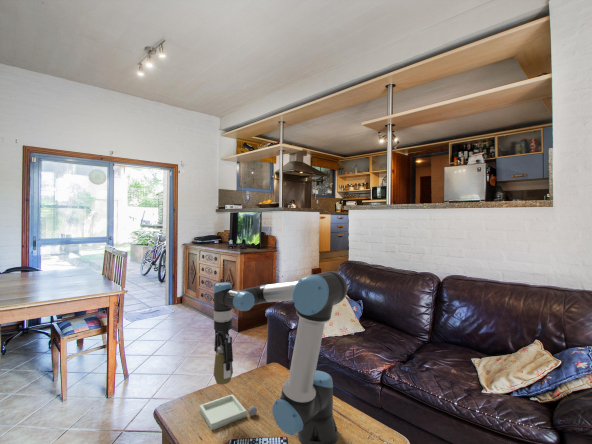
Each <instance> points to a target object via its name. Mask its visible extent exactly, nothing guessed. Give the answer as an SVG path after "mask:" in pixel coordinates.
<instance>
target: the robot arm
mask: <svg viewBox="0 0 592 444" xmlns="http://www.w3.org/2000/svg"><path fill="white" fill-rule="evenodd" d="M348 289H349V288H348V283H347V281H346V279H345V277H344V276H343V275H342V274H341V273H340V272H337V271H333V270H331V271H330V270H329V271H325V272H320V273H316V274H315V273H314V274H309V275H307V276H304V277H302V278H300V279H298V280H292V281H283V282H276V283H271V284H269V283H267V284H265V283H264V284H261V285H257V286H254V287H253V286H252V287H248V288H244V289H233V285H232V283H231V282H218V283H215V284H214V285H213V320H214V321H213V330H214V352H215V354H216V353H217V352H218V347H219V346H220V345H221V346H222V347H223V353H224V360H225V362H223V364H224V379H226V378H230V377H231V362H232V363H233V362H234V356H233V355H234V354H233V336H230V333H229V331H230V330H232V328H233V320H232V318H233V312H234V310H238V311H241V312H248V311H250V310H251V309H252V308H253V307H254V306H256V305H261V304H265V303H274V302H287V301H292V302H293V303H294V305H293V306H294V308H295V312H296V314H297V316H298V317H299V318H298V319H299V320H298V324H297V330H296V335H295V341H294V346H293V351H292V358H291V363H290V367H289V369H290V370H289V374H288V375H289V376H288V379H286V380H285V381H284V382H283V384H282V388H281V393H280V397H279V398H277V399H276V400H275V401H274V402H273V404H272V408H271V409H272V411H271V412H272V417H273V419H274V421H275V423H276V425H277V426H278V428H279V429H280V430H281V431H282V432H283V433H285V434H286V435H288V436H295V435H297V438H298V440H299V442H300V443H301V444H335V443H336V442H337V441H338V427H337V424H336V421H335V417H334V411H333V410H334V409H333V408H334V407H333V406H334V405H333V403H334V392H333V391H334V384H333V378H332V376H331V375H330V374H329V373H327V372H325V371H322V370H317V365H318V360H319V355H320V350H321V346H322V345H321V344H322V339H323V335H324V330H325V324H326V323H327V322H329V321H330V320H331V318H332V312H333V309H334V306H335V305H338V304H340V303H341V302H342V301H343V300H344V299H345V298H346V296H347V294H348ZM231 378H232V377H231Z"/></svg>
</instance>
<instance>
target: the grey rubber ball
mask: <svg viewBox="0 0 592 444" xmlns="http://www.w3.org/2000/svg"><path fill="white" fill-rule="evenodd" d="M257 412H258V411H257V407H256V406H254V405H250V406H249V407H248V410H247V414H248V415H249V416H250V417H253V416H256V414H257Z"/></svg>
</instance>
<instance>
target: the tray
mask: <svg viewBox="0 0 592 444" xmlns="http://www.w3.org/2000/svg"><path fill="white" fill-rule="evenodd" d="M199 413H200V414H201V415H202V418H203V419H204V421H205V423H206V424H207V425H208V428H209V429H210V431H211V432H212V431H213V430H216V429H219V428H221V427H224V426H226V425H228V424H229V425H230V424H232V423H234V422H236V421H239V420H242V419H245V418H247V414H248V410H247V409H246V408H245V407H244V406H243V405H242V403H241V402H240V401H239V400H238V398H237V397H236V396H235V395H234V394H230V395H229V394H228V395H226V396H223V397H220V398H217V399H214V400H211V401H209V402H205V403H202V404H199Z"/></svg>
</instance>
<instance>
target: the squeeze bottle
mask: <svg viewBox="0 0 592 444" xmlns="http://www.w3.org/2000/svg"><path fill="white" fill-rule="evenodd" d="M223 362H225V360H224V353H223V347H222V346H221V345H220V346H219V347H218V352H217V353H216V352H215V355H214V365H213V377H214V380H215V383H216V384H218V385H227V384H229V383H230V382H231V379H232V376H233V373H234V369H233V362H231V377H230V378H226V379H224V364H223Z"/></svg>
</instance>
